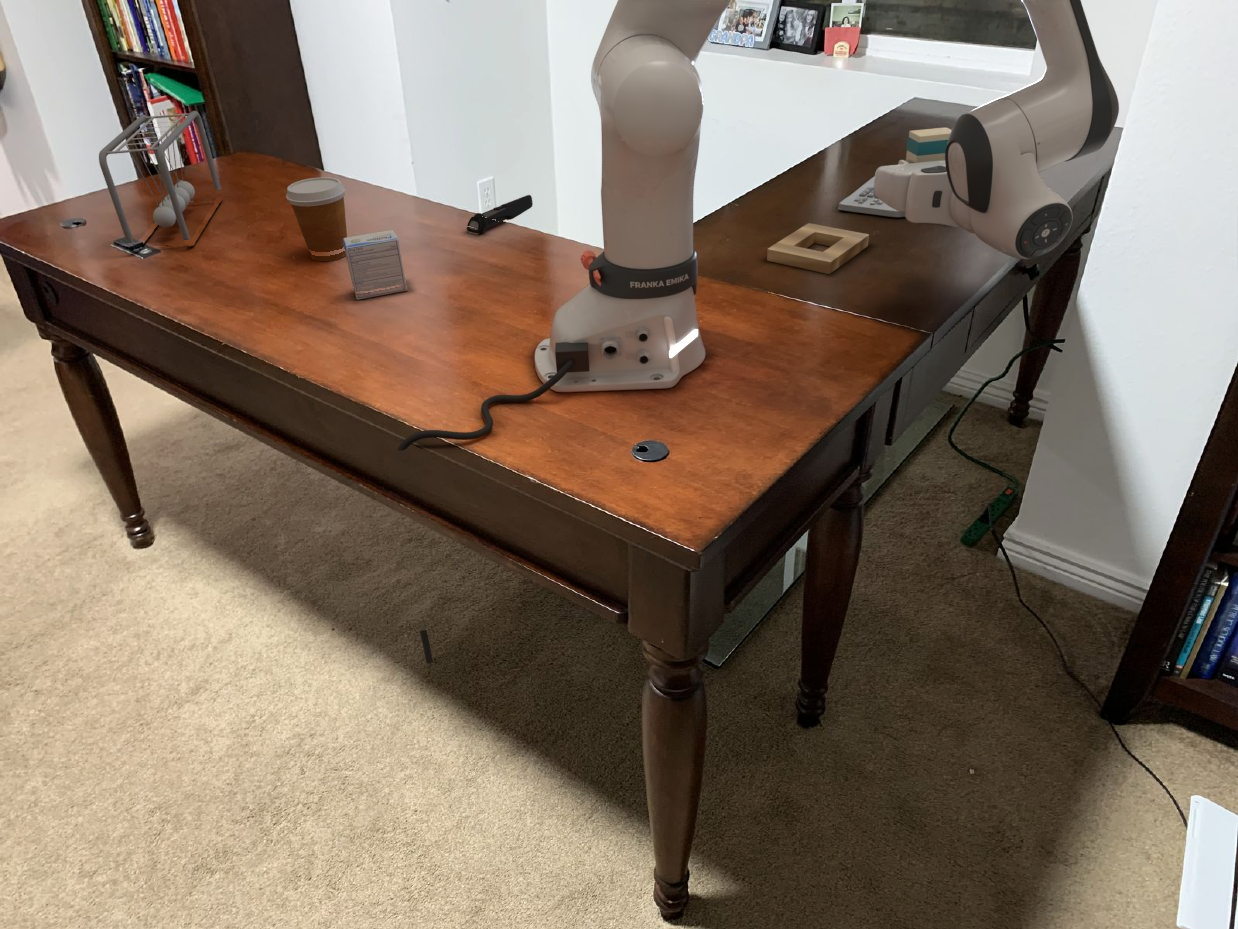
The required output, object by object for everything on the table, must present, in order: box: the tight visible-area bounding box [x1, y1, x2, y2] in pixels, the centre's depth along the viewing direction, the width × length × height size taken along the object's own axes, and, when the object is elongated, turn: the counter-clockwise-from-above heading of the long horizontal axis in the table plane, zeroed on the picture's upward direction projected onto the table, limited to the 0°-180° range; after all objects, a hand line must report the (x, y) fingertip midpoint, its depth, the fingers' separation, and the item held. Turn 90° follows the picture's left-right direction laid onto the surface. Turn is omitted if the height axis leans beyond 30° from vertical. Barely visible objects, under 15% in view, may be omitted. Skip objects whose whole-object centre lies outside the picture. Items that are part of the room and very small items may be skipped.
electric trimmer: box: [466, 194, 534, 236], centre depth 168 cm, size 4×16×3 cm, turn 143°
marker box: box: [905, 126, 952, 163], centre depth 129 cm, size 6×3×10 cm, turn 101°
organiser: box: [766, 222, 870, 275], centre depth 149 cm, size 14×11×2 cm
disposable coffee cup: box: [285, 176, 348, 262], centre depth 155 cm, size 10×10×12 cm
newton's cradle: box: [98, 110, 222, 244], centre depth 170 cm, size 30×10×18 cm, turn 9°
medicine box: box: [343, 229, 408, 301], centre depth 142 cm, size 8×4×9 cm, turn 111°
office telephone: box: [837, 175, 906, 218], centre depth 169 cm, size 23×3×20 cm
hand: (925, 162), depth 129 cm, fingers closed on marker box, 5 cm apart
